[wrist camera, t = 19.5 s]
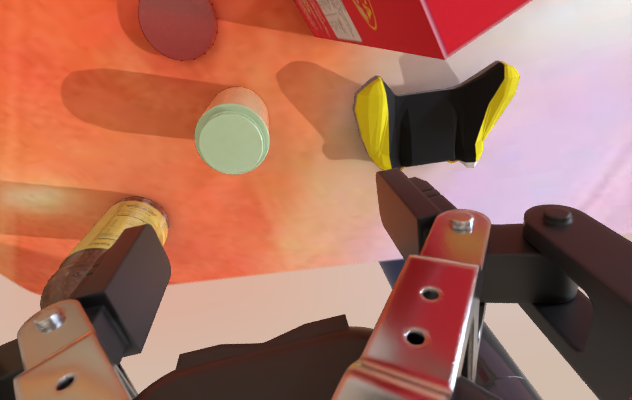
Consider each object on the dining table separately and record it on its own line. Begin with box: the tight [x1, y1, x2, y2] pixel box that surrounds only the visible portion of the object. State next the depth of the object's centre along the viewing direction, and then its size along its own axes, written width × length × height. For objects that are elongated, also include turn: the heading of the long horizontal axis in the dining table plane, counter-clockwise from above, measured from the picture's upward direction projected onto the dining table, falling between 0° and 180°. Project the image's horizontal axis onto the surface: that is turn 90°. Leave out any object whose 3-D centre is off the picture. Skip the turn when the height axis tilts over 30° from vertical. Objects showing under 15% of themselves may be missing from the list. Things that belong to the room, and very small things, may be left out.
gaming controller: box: [353, 61, 520, 171], centre depth 33 cm, size 15×6×10 cm
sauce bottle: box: [40, 197, 169, 310], centre depth 28 cm, size 6×6×20 cm
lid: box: [138, 0, 218, 61], centre depth 28 cm, size 6×6×1 cm
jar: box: [194, 87, 270, 175], centre depth 29 cm, size 6×6×9 cm
